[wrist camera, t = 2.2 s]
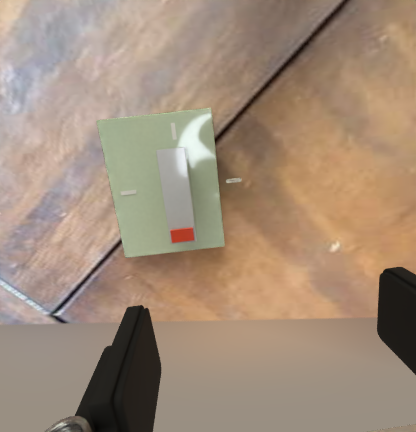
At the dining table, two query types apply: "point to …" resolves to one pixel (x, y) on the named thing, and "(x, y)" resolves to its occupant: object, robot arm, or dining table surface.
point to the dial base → (150, 178)
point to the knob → (177, 194)
